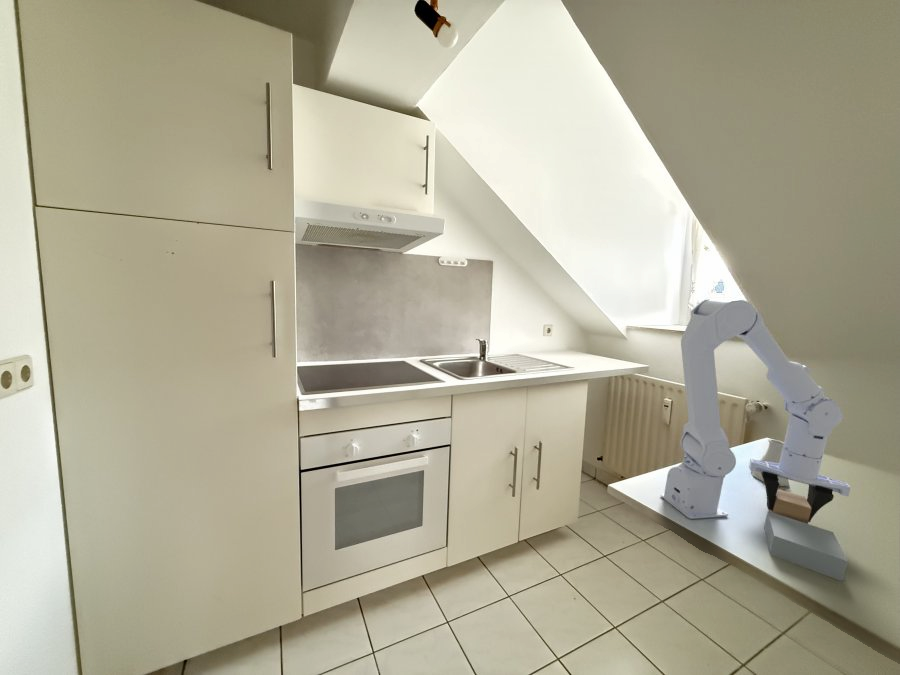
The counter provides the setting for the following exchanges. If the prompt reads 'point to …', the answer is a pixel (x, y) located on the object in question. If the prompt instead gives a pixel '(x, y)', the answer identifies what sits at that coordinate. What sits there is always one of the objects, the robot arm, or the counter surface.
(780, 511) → the walnut cube
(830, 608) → the counter surface
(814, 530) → the slate block
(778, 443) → the flask
